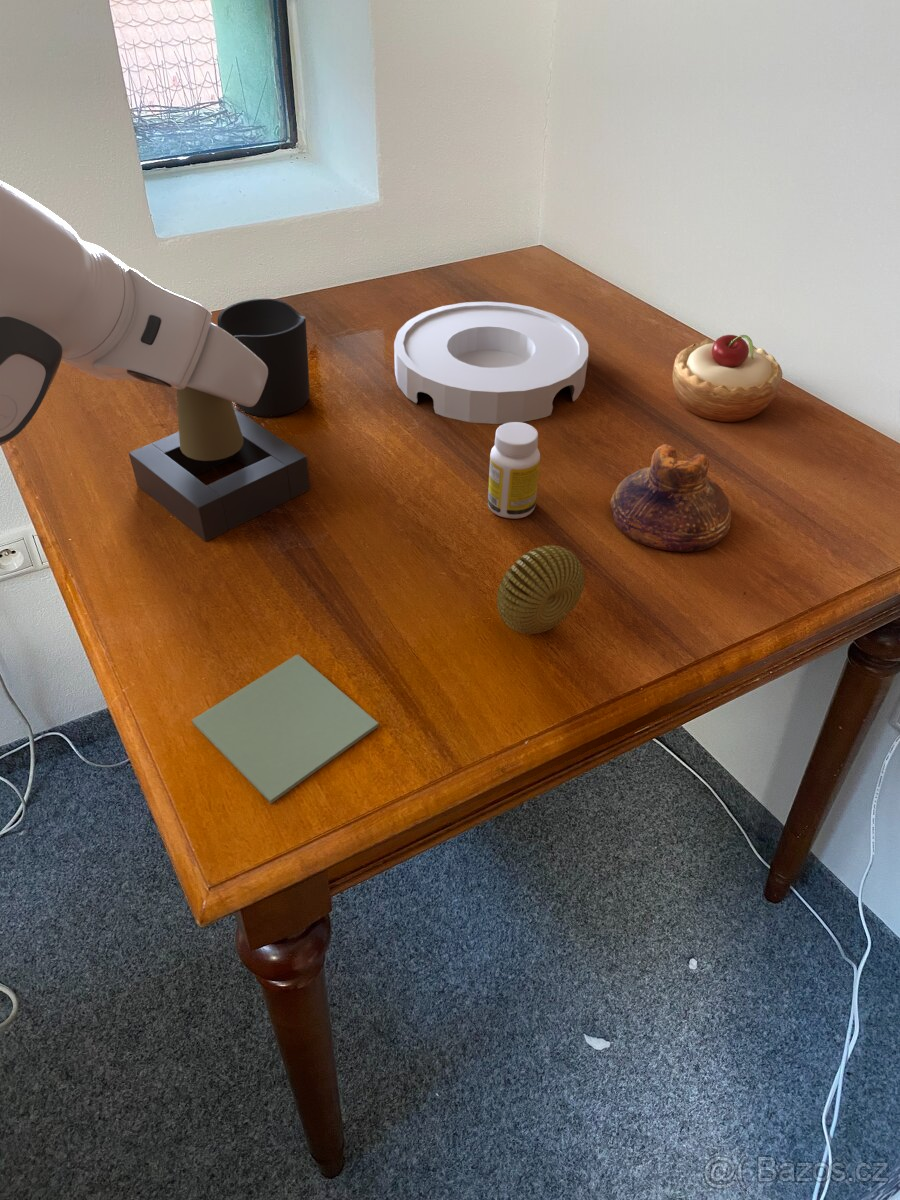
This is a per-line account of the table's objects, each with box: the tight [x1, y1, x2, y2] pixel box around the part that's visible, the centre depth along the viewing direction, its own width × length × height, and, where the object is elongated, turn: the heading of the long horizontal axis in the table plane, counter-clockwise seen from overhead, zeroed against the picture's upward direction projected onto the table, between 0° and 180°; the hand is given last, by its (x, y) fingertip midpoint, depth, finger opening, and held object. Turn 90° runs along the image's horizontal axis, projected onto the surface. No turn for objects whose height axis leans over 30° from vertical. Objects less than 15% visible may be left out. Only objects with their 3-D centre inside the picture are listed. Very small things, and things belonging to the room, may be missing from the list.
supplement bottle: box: [487, 422, 541, 520], centre depth 84 cm, size 5×5×8 cm
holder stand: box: [128, 408, 311, 543], centre depth 87 cm, size 12×12×4 cm
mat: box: [191, 653, 380, 804], centre depth 66 cm, size 10×10×1 cm
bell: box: [609, 443, 733, 553], centre depth 84 cm, size 12×12×7 cm
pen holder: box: [217, 298, 310, 418], centre depth 98 cm, size 9×9×10 cm
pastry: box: [671, 334, 783, 423], centre depth 100 cm, size 12×12×9 cm
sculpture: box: [496, 544, 585, 635], centre depth 72 cm, size 8×4×8 cm, turn 123°
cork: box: [176, 387, 243, 461], centre depth 81 cm, size 6×6×11 cm
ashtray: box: [393, 301, 589, 425], centre depth 106 cm, size 23×23×4 cm
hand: (206, 380), depth 81 cm, fingers closed on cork, 5 cm apart
